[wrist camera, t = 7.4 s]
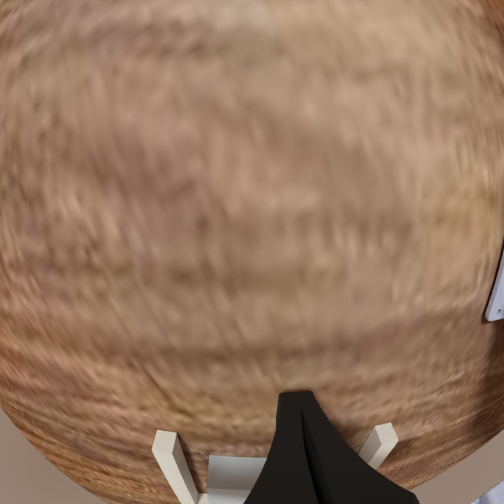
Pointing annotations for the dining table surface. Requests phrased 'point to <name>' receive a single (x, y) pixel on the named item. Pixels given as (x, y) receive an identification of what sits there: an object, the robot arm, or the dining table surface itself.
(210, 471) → the light gray box
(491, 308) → the robot arm
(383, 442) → the cream u-shaped bracket
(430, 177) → the dining table surface
